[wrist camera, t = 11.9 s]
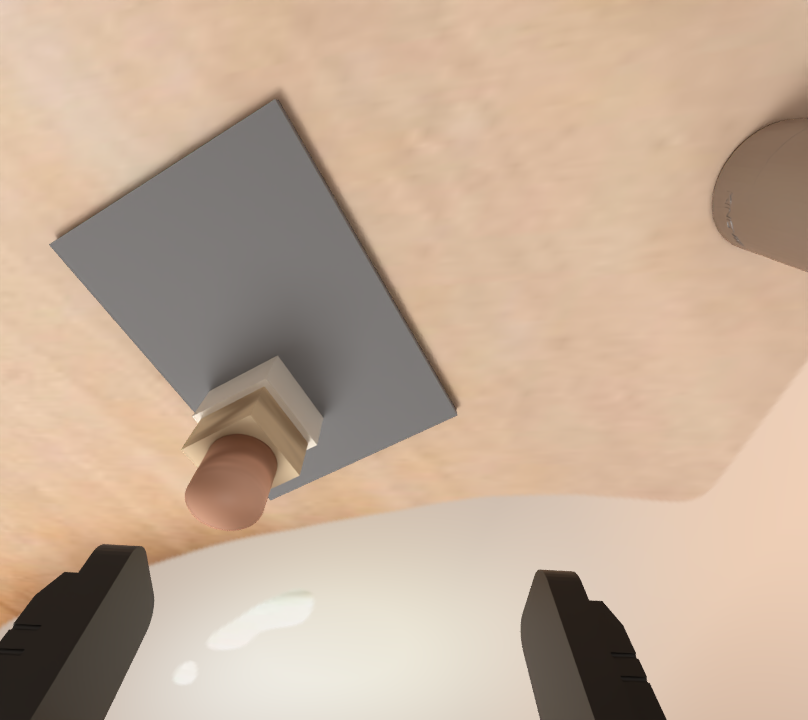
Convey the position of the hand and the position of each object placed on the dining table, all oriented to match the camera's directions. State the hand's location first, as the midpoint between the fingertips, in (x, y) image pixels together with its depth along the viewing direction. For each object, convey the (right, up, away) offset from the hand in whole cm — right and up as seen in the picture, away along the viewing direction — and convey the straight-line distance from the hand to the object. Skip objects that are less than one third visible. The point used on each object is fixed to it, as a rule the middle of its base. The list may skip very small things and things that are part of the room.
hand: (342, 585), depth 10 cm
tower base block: (-11, +1, +32) cm, 33 cm away
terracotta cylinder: (-10, -3, +25) cm, 27 cm away
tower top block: (-10, -1, +28) cm, 30 cm away
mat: (-9, +7, +30) cm, 32 cm away
